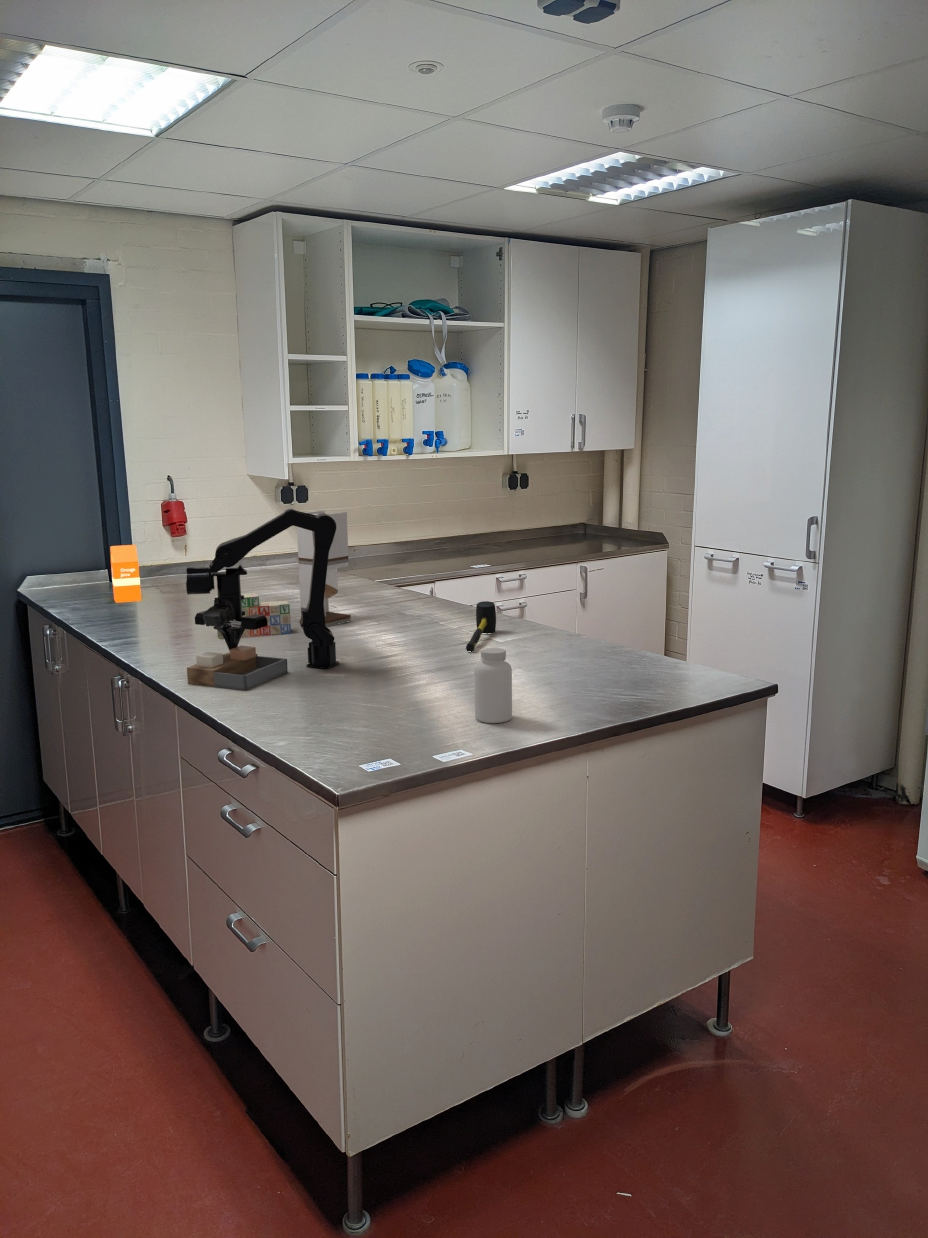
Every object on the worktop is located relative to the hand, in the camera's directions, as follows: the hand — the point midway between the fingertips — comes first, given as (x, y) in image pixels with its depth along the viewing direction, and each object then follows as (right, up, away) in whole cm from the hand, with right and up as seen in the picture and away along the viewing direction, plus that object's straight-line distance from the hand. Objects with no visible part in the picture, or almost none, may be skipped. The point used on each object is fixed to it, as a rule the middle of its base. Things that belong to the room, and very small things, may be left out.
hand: (232, 652), depth 241 cm
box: (+6, -6, -7) cm, 11 cm away
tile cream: (-4, -3, -8) cm, 9 cm away
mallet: (+64, +2, +32) cm, 71 cm away
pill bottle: (+65, -13, -40) cm, 78 cm away
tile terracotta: (+3, -1, -1) cm, 3 cm away
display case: (+15, +7, +60) cm, 62 cm away
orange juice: (-63, +15, +102) cm, 121 cm away
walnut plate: (-1, -6, -3) cm, 7 cm away
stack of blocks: (-4, +4, +44) cm, 44 cm away
